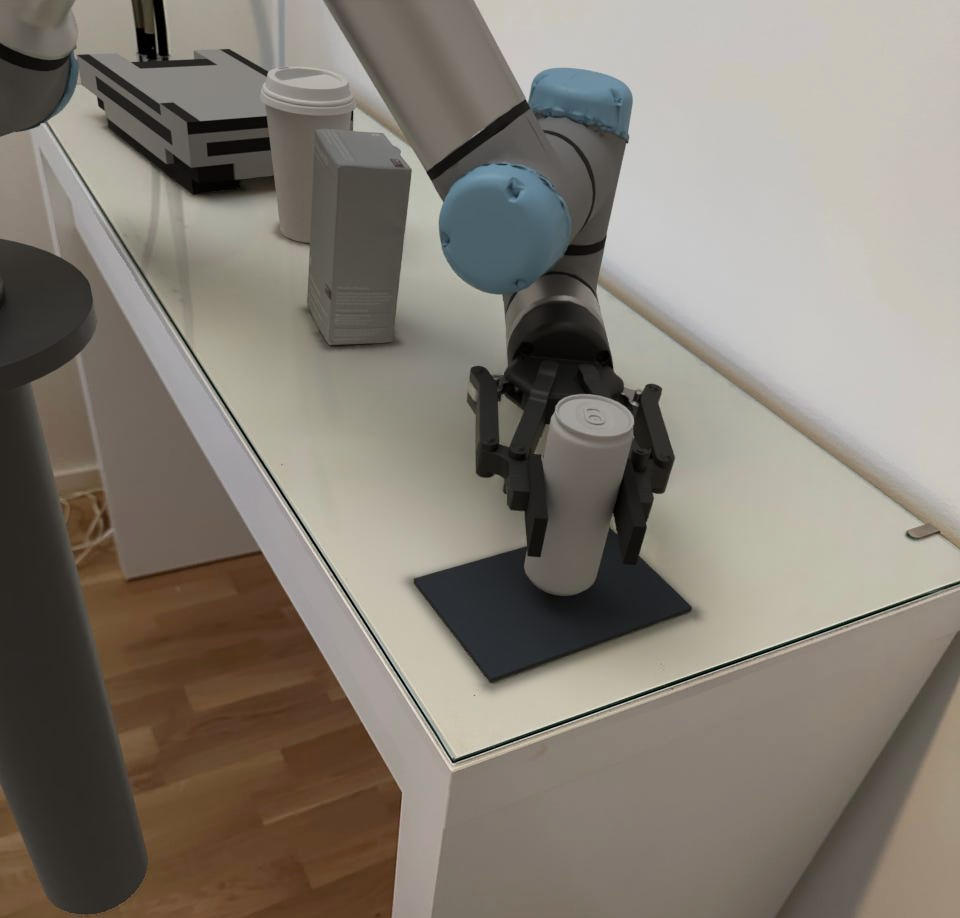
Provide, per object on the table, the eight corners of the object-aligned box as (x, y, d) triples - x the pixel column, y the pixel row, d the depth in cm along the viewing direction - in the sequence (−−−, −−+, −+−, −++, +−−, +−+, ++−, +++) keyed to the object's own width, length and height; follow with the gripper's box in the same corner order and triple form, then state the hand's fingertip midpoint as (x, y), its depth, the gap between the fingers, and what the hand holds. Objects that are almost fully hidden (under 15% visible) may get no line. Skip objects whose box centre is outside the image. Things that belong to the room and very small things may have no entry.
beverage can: (524, 597, 58) (556, 433, 50) (519, 550, 62) (549, 389, 53) (599, 602, 59) (643, 440, 50) (590, 555, 62) (630, 396, 54)
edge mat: (413, 582, 61) (413, 578, 61) (604, 527, 68) (605, 523, 68) (490, 683, 55) (491, 678, 55) (691, 611, 62) (692, 607, 62)
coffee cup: (334, 212, 106) (335, 63, 96) (367, 245, 100) (372, 91, 90) (254, 218, 102) (245, 63, 92) (283, 252, 96) (278, 92, 86)
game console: (232, 105, 131) (228, 38, 125) (352, 182, 114) (353, 109, 108) (86, 116, 120) (74, 43, 114) (194, 202, 103) (186, 122, 98)
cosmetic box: (305, 307, 88) (302, 125, 77) (377, 304, 90) (384, 127, 79) (327, 349, 82) (328, 160, 71) (403, 344, 85) (415, 160, 74)
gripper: (661, 405, 72) (721, 603, 55) (433, 382, 70) (422, 580, 53) (687, 312, 66) (762, 501, 50) (441, 286, 65) (432, 471, 48)
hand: (586, 541), depth 52 cm, fingers closed on beverage can, 5 cm apart
